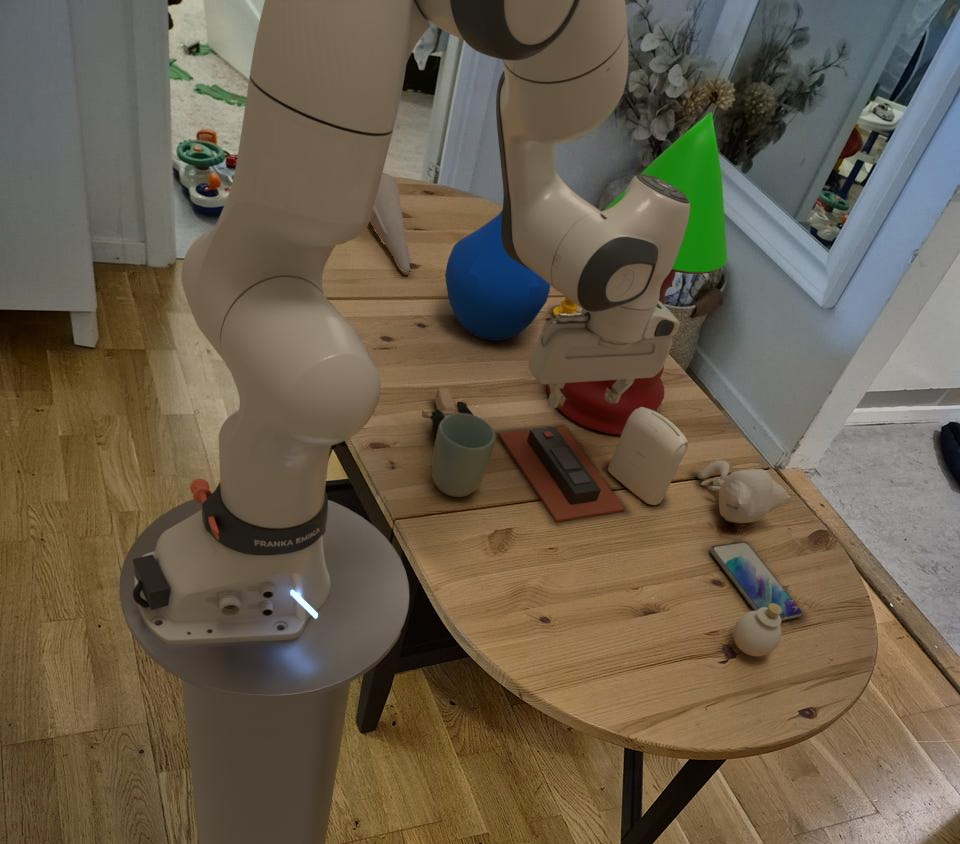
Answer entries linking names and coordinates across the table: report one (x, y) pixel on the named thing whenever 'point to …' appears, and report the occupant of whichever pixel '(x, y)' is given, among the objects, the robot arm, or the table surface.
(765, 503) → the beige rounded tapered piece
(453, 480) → the cup
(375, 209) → the grey long tapered piece
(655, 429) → the photo printer
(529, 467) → the mat
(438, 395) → the toy figure
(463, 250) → the vase
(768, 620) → the ornament
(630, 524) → the table surface
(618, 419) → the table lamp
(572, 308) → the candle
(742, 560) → the smartphone
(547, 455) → the remote
